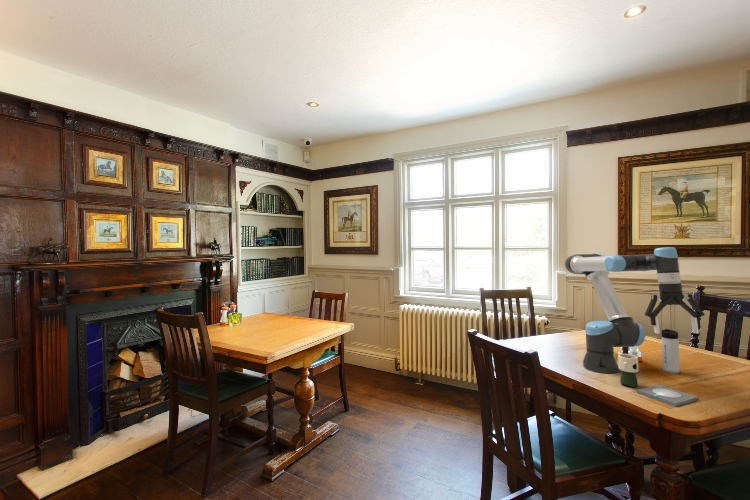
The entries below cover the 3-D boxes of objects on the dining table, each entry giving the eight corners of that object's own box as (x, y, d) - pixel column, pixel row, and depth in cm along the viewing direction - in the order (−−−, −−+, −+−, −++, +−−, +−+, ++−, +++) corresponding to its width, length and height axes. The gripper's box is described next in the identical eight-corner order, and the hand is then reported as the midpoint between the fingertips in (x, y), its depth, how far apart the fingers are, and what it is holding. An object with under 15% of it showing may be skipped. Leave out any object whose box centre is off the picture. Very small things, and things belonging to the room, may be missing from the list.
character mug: (635, 391, 145) (634, 360, 145) (615, 386, 150) (614, 356, 150) (642, 384, 152) (641, 354, 152) (623, 379, 157) (622, 351, 157)
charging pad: (636, 392, 143) (636, 389, 143) (658, 387, 148) (658, 383, 148) (675, 406, 130) (675, 402, 130) (698, 400, 135) (698, 396, 135)
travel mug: (676, 370, 167) (675, 329, 167) (682, 374, 161) (680, 332, 161) (660, 368, 169) (659, 328, 169) (665, 373, 163) (663, 331, 163)
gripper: (639, 284, 147) (645, 334, 144) (710, 281, 140) (718, 334, 137) (632, 284, 154) (637, 331, 151) (699, 282, 147) (706, 332, 144)
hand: (676, 333), depth 144 cm, fingers open, 13 cm apart
